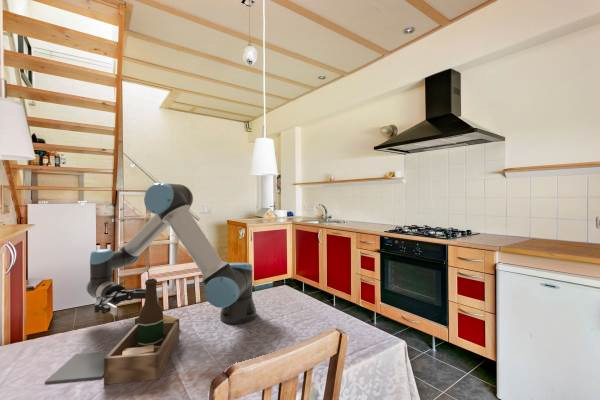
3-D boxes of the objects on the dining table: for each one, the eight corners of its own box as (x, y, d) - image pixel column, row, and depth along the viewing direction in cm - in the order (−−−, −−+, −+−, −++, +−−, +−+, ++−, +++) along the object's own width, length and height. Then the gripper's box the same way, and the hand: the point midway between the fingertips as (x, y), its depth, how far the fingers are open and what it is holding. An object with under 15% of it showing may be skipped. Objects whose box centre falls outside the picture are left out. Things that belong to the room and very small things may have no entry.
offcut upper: (153, 354, 87) (153, 344, 87) (153, 360, 83) (153, 350, 83) (122, 361, 83) (122, 351, 83) (121, 368, 79) (121, 357, 79)
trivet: (123, 352, 94) (123, 350, 94) (101, 378, 80) (101, 376, 80) (76, 355, 91) (76, 353, 91) (44, 383, 77) (44, 381, 77)
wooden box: (178, 340, 101) (178, 321, 101) (158, 379, 80) (158, 354, 80) (136, 343, 99) (136, 323, 99) (103, 384, 77) (103, 358, 77)
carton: (160, 338, 104) (160, 326, 104) (133, 329, 111) (133, 318, 111) (179, 329, 111) (179, 318, 111) (153, 320, 119) (153, 310, 119)
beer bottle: (144, 347, 97) (144, 276, 97) (167, 346, 97) (167, 276, 97) (132, 360, 89) (132, 283, 89) (158, 359, 90) (158, 283, 90)
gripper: (144, 294, 120) (172, 305, 108) (71, 313, 100) (95, 329, 88) (144, 276, 120) (172, 285, 108) (71, 291, 100) (95, 304, 88)
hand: (138, 305), depth 98 cm, fingers open, 13 cm apart
